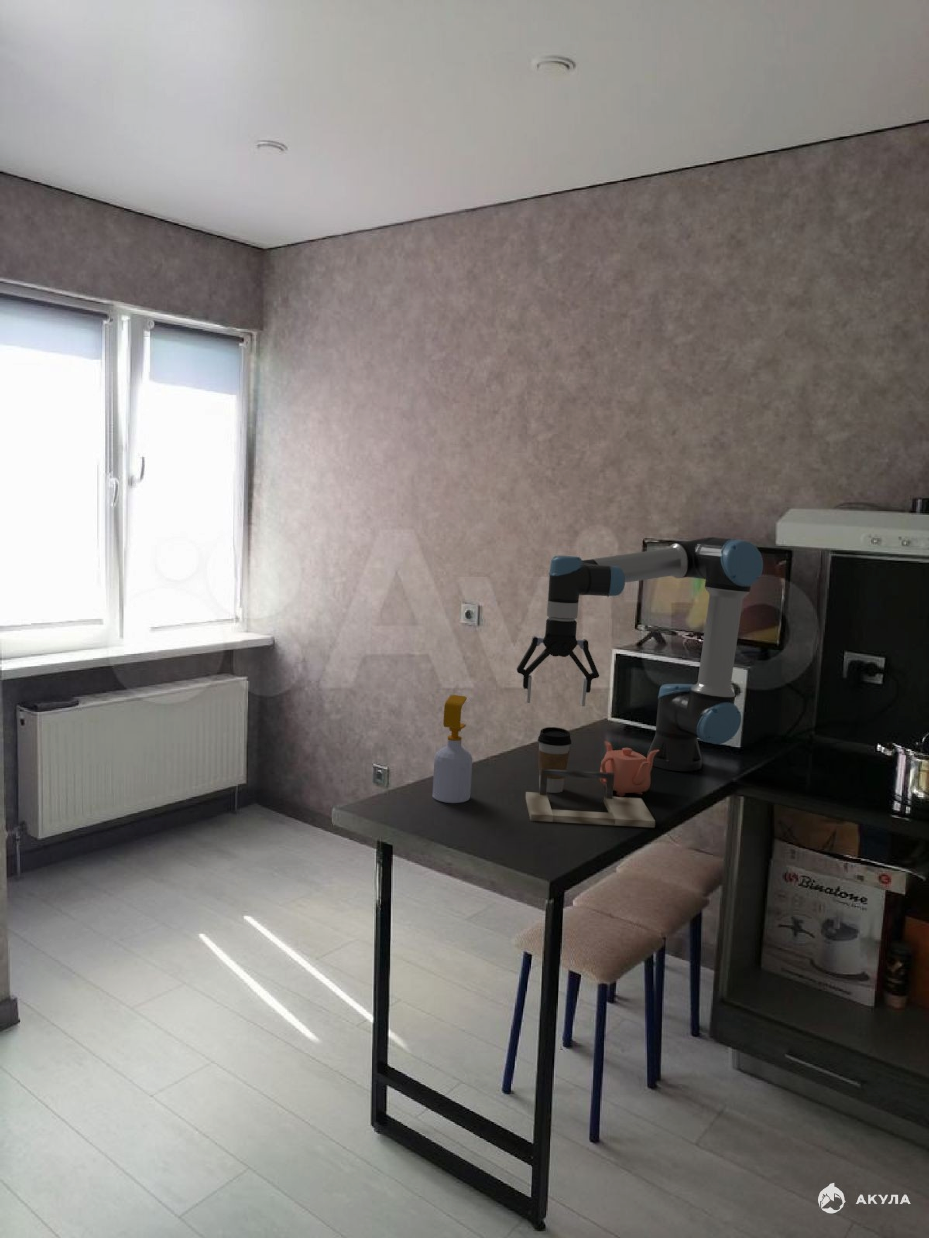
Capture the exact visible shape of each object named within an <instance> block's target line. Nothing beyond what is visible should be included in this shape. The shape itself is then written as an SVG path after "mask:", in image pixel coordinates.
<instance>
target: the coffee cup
mask: <svg viewBox="0 0 929 1238" xmlns="http://www.w3.org/2000/svg"><path fill="white" fill-rule="evenodd" d="M537 742H538V746H539V747H538V775H539V776H538V784H539V785H538V787H539V788H538V789H539V790H540V776H541V769H553V770H567V768H568V761H569V757H570V746H571V744H572V738H571V733H570V731H569V730H568V729H565V728H562V727H553V726H550V727H543V728H542V729H541V730H540V732H539V736H538V737H537ZM565 777H566V776H548V775H547V789H546V793H550V794H552V793H553V794H556V793H557V794H559V793H562V792H563V790H564V783H565V780H566V779H565Z"/></svg>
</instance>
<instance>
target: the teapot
mask: <svg viewBox="0 0 929 1238" xmlns="http://www.w3.org/2000/svg"><path fill="white" fill-rule="evenodd" d="M604 744H605V747H606V753H605V755H604V757H603V759H602V760H601V762H600V770H599V772H606V773H607V772H609V773H614V785H613V791H614V792H616V796H618V797H624V796H625V797H626V794H631V793H634V794H635V795H643V792H647V791H648V790H649V788H650V786H651V771H652V769H653V765H652V764H653V759H654V756H655V754H656V753H657V752H658V751H659V750H653V751H651V752H650V753H649V755H648V757H647V756H646V757H645V756H644V755H643V754H641V753H639V752H636V751H634V750H633V749H632V748H630V747H623V748H621V749H618V750H613V749H614V748H613V746H612V744H611V742H609V741H606V740H605V741H604ZM606 780H607V779H601V778H599V782H600V783H601V784H603V785H604V788H605V789H606Z"/></svg>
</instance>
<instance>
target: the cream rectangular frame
mask: <svg viewBox="0 0 929 1238" xmlns="http://www.w3.org/2000/svg"><path fill="white" fill-rule="evenodd" d="M547 775H548V776H565V777H566V778H567V777H571V778H587V779H600V778H601V779H607V780H606V786H605V787H606V788H605V795H604V796H603V803H604V806H605V808H606V810H607V812H605V811H604V812H603V811H602V812H601V811H583V810H568V809H552V807H551V804H550V803H551V802H550V801H549V800H550V799H549V797H548V796H549V795H548V794H547V793H548V792H546V789H547ZM613 785H614V773H609V772H607V773H606V772H600V771H588V770H586V771H585V770H571V769H570V770H567V769H566V770H553V769H541V776H540V789H539V790H538V791H539V792H531V791H525V801H526V806H527V811H528V815H529V820H530V821H531V822H549V823H568V824H569V823H570V824H582V825H583V824H586V825H600V826H601V825H603V826H605V825H606V826H621V827H639V828H655V827H656V820H655V818H654V817H653V815H652V813H651V812H650V811H649V809H648V807H647V806H646V804H645V802H644V800H643V799H642V798H641V797H626V796H625V797H624V796H613V795H614V790H613Z"/></svg>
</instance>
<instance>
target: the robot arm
mask: <svg viewBox="0 0 929 1238" xmlns="http://www.w3.org/2000/svg"><path fill="white" fill-rule="evenodd" d="M763 571H764V561H763V556H762V554H761V552H760V550H759V549H758V547H757V546H756V545H755V544H754V543H752V542H750V541H746V540H743V539H739V538H723V537H713V536H712V537H703V538H702V537H701V538H697V539H694V540H693V539H692V540H688V541H682V542H676V543H673V544H671V545H669V547H668V548H662V549H654V550H647V551H640V552H633V553H632V552H631V553H625V554H619V555H618V554H617V555H611V556H605V557H597V558H591V559H584V560H583V559H582V558H581V557H579V556H574V555H572V556H571V555H554V556H553V557H552V558H551V562H550V565H549V572H548V576H549V581H548V591H547V593H548V594H547V596H548V597H547V607H546V616H547V617H548V618H547V619H546V620H545V633H544V637H538V636H536V635H533V636H532V638H531V641H530V642H531V644H530V646H529V647H528V649H527V651H526V652H525V654H524V656H523V657H522V659H521V661H520V662H519V664H518V666H517V668H516V673H518V674H520V675H522V676H523V679H522V687H523V690H525V689H526V703H527V704H531V697H532V696H531V695H532V694H531V692H532V680H533V678H532V675H531V673H533V672H534V671H535V670H536V669H537V668H538V667H539V666H540V665H541V664H542V663H543V661H544V660H546V659H547V658H548V657H549V656H552V657H561V658H566V657H568V656H570V658H571V660H573V663H575V665H576V666H577V667H578V669H579V670H580V671H581V673H582V674H583V676H584V677H585V678H584V677H583V678H582V683H581V693H580V705H581V707H586V699H587V698H586V697H587V696H586V695H587V694H588V693H589V694H590V692H591V691H592V689H591V688H592V681H593V679H598V678H599V677H600V673H599V671H598V669H597V666H596V664H595V661H594V659H593V656H592V653H591V652H590V649H589V646H590V645H589V640H587V638H584V639H581V640H579V639H577V627H578V626H577V625H578V624H577V623H578V622H577V620H576V619H578V614H579V613H578V612H579V602H580V601H579V599H580V596H594V597H595V596H598V597H599V596H601V597H602V596H603V597H607V598H608V597H615V596H616V597H617V596H619V595H620V594H622V592H623V591H624V589H625V585H626V583H632V582H633V583H634V582H640V581H644V580H645V581H646V580H651V579H658V578H659V579H660V578H664V577H674V578H675V579H684V578H693V579H702V580H705V581H704V582H705V583H704V589H705V590H706V592H707V593H708V594H709V598H708V606H707V612H706V619H705V620H706V621H705V625H704V634H703V640H702V641H703V642H702V647H701V656H700V662H699V670H698V678H697V682H696V684H693V683H692V684H691V683H689V684H688V683H665V684H662V685H661V686H660V688H659V691H658V696H657V699H658V701H657V712H656V713H657V714H656V722H655V723H656V724H655V735H654V738H653V740H652V742H651V745H650V747H649V749H648V750H647V754H646V755H647V756H646V758H647V757H648V755H649V753H650V752H651V751H653V750H659V751H658V752H657V753H656V754H655V756H654V759H653V764H652V767H656V768H660V769H663V770H668V771H677V772H693V770H695V771H698V769H699V770H700V769H701V768H702V765H703V764H702V763H703V760H702V759H703V758H702V755H701V750H700V745H699V742H698V741H699V740H700V741H703V742H705V743H710V744H714V745H722V744H725V743H727V742H728V741H730V740H731V739H732V738H733V737H735V735H736V734H737V733H738V731H739V729H740V727H741V723H742V715H741V711H739V708H738V707H737V706H736V705H735V701H736V693H735V691H734V690H733V688H731V687H732V686H731V685H732V679H733V673H734V665H735V658H736V650H737V643H738V635H739V629H740V622H741V614H742V607H743V600H744V598H745V597H747V596H748V595H749V594H750V593H751V588H752V585H754V584H755V583H757V581H758V579H760V577H761V576H762V573H763ZM541 644H543V646H544V647H545V649H543V651H542V652H541V653H540V654H539V655H538V656H537V657H536V658H535V659H534V660H533V661H532V662H531V663H530V664H529V665H528V666H527V664H528V663H529V661H530V659H531V658H532V656H533V654H534V653H535V650H536V649H537V647H540V646H541ZM577 646H579V648H580V649H581V650H582V651H583V653H584V656H585V659H586V661H587V663H588V666H589V667H590V670H591V673H589V671H588V670H587V669H586V667H585V666H584V664H583V663H582V662H581V660H580V659H579V657H578V656H577V655H576V654H575V653H574V650H575V649H576V647H577ZM526 666H527V667H526ZM698 739H699V740H698Z"/></svg>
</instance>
